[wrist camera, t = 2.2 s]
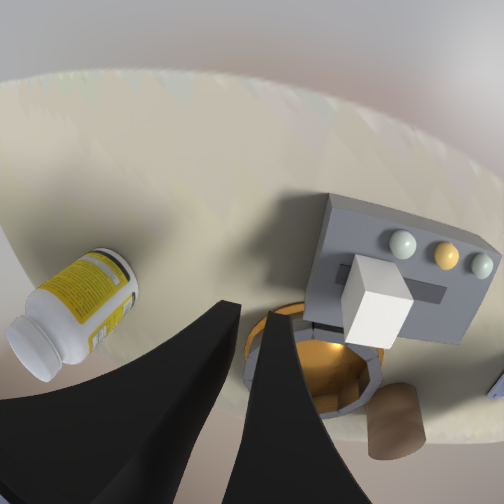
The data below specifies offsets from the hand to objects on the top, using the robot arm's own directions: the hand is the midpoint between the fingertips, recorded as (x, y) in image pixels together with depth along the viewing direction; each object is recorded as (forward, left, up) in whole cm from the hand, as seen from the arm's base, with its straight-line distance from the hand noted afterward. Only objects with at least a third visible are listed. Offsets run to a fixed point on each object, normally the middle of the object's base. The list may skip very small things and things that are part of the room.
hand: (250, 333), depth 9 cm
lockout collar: (-4, +8, -8) cm, 13 cm away
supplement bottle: (+12, +6, -9) cm, 16 cm away
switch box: (-7, 0, -8) cm, 11 cm away
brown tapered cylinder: (-12, +12, -8) cm, 19 cm away
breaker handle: (-5, 0, -5) cm, 7 cm away
